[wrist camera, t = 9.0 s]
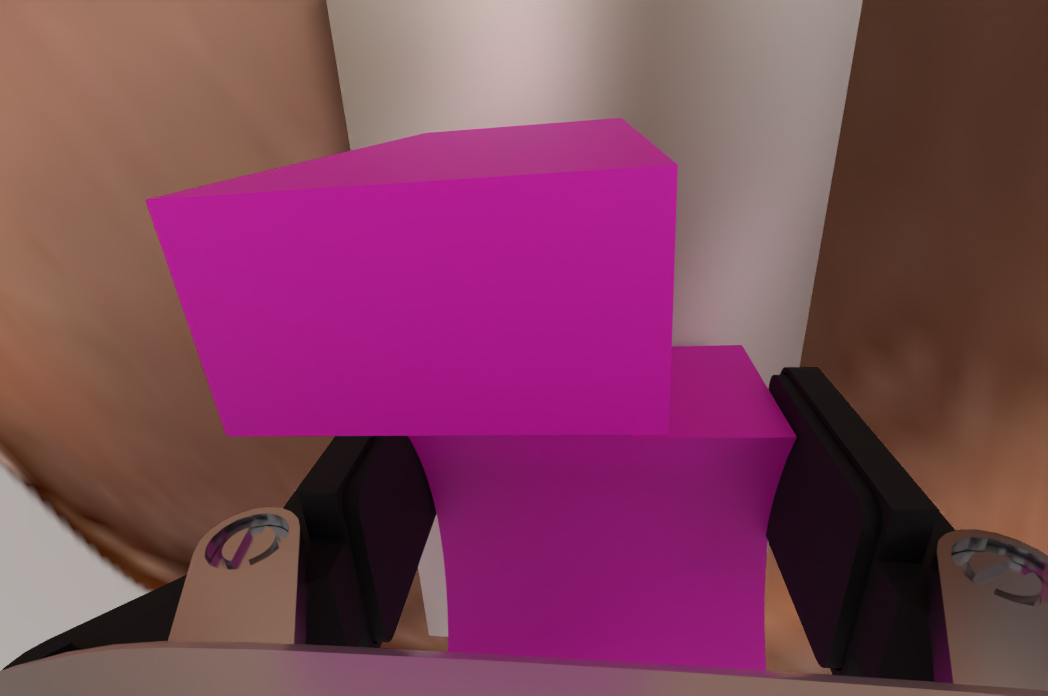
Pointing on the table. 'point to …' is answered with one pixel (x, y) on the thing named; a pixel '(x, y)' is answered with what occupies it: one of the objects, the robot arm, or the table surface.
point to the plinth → (655, 112)
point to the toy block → (504, 376)
